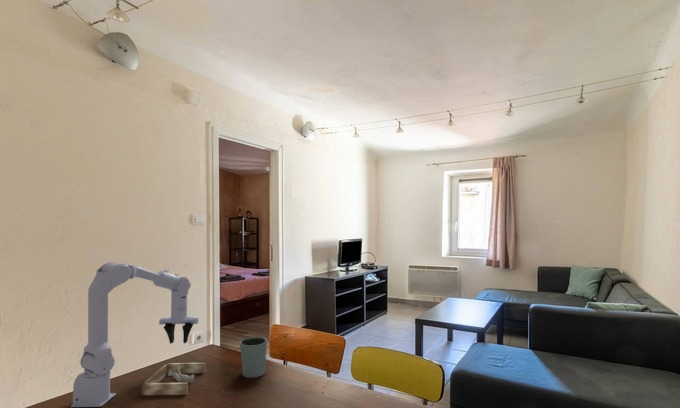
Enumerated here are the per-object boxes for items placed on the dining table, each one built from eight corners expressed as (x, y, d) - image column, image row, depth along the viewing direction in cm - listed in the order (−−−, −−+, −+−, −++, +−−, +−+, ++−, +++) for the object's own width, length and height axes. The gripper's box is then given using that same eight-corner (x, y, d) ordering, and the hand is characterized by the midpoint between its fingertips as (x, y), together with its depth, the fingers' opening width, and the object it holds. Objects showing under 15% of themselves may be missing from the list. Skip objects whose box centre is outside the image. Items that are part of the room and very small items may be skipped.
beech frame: (141, 395, 120) (141, 384, 120) (166, 372, 138) (166, 363, 138) (186, 394, 120) (186, 383, 120) (205, 371, 138) (205, 362, 138)
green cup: (260, 379, 131) (260, 346, 132) (234, 377, 133) (234, 344, 134) (270, 368, 141) (270, 337, 142) (246, 366, 143) (247, 335, 144)
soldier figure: (181, 377, 136) (204, 372, 131) (175, 391, 132) (199, 386, 127) (166, 367, 132) (189, 362, 127) (160, 381, 128) (183, 376, 123)
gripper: (201, 304, 146) (201, 338, 145) (165, 305, 145) (164, 339, 145) (194, 309, 139) (194, 344, 138) (156, 309, 138) (156, 345, 138)
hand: (178, 342), depth 141 cm, fingers open, 5 cm apart
